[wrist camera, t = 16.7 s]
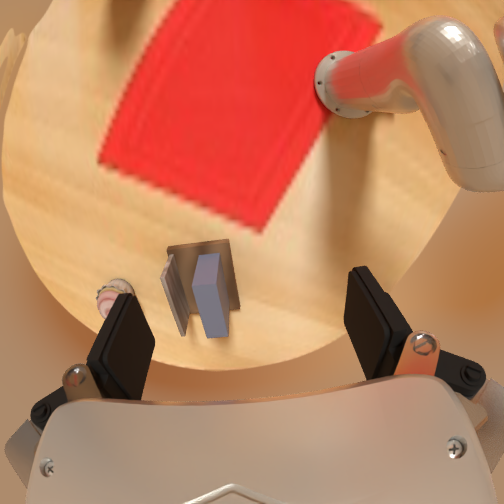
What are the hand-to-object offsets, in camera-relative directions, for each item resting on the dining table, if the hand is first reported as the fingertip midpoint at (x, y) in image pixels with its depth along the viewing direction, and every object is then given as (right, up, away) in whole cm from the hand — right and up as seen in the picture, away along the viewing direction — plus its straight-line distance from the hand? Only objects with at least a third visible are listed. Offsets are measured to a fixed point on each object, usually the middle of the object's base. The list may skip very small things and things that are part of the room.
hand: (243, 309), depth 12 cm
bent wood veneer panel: (-9, -3, +45) cm, 46 cm away
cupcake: (-29, -6, +46) cm, 54 cm away
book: (-7, -3, +43) cm, 44 cm away
